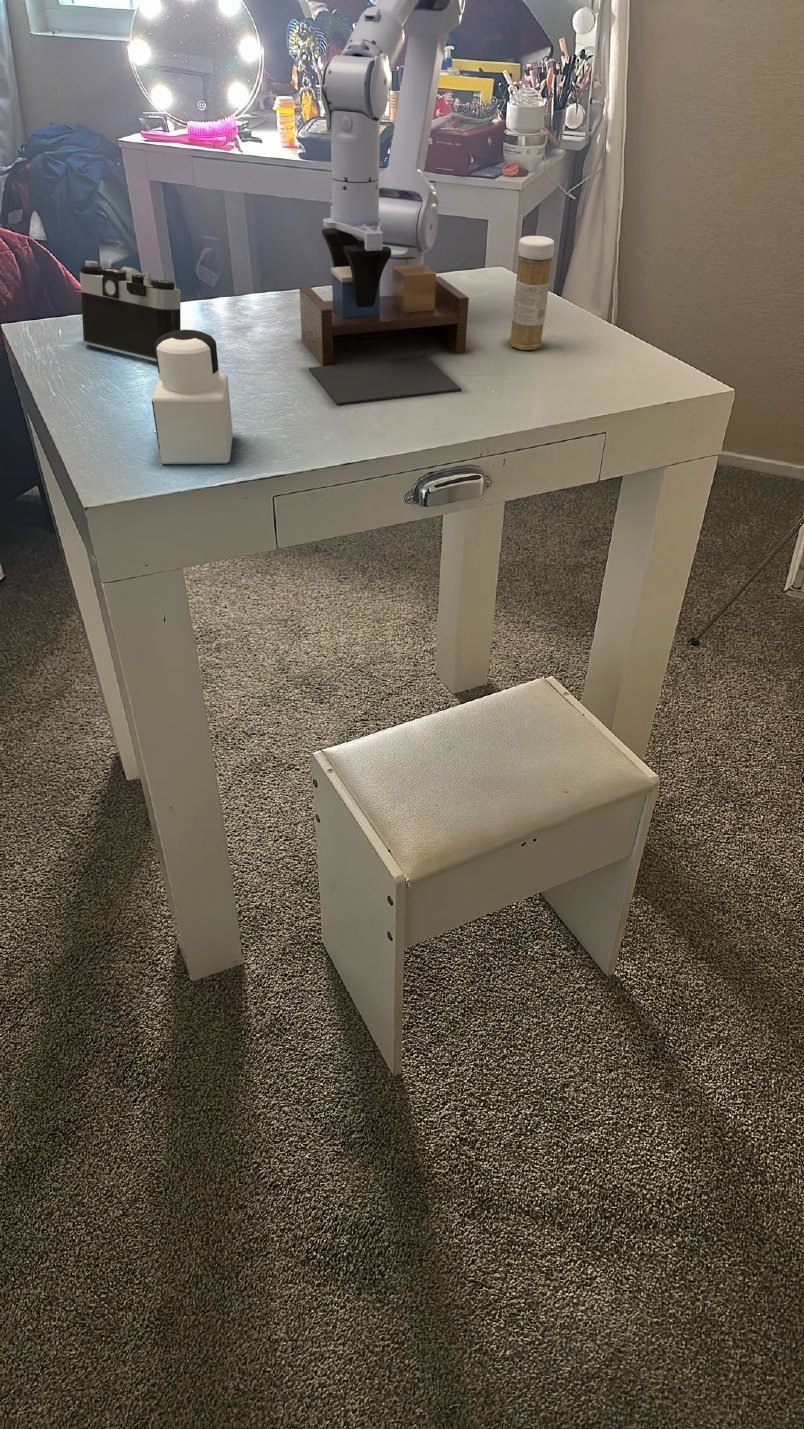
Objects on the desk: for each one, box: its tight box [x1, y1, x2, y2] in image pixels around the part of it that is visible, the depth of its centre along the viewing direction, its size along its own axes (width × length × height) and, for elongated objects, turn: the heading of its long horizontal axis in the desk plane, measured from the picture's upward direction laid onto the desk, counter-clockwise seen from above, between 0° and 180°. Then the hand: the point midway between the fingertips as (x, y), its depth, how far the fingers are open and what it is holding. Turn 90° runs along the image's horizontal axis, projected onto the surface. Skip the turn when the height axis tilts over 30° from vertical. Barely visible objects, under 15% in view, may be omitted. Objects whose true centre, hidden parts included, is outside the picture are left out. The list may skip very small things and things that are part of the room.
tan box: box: [392, 263, 437, 313], centre depth 122 cm, size 4×4×5 cm
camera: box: [79, 260, 182, 362], centre depth 121 cm, size 15×11×10 cm
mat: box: [308, 355, 462, 406], centre depth 117 cm, size 12×16×1 cm
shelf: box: [299, 276, 470, 366], centre depth 124 cm, size 10×20×7 cm, turn 111°
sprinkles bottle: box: [509, 235, 555, 351], centre depth 124 cm, size 5×5×13 cm
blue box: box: [330, 266, 381, 319], centre depth 120 cm, size 5×5×5 cm
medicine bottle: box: [151, 329, 234, 465], centre depth 96 cm, size 7×7×12 cm
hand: (355, 297), depth 120 cm, fingers open, 7 cm apart
